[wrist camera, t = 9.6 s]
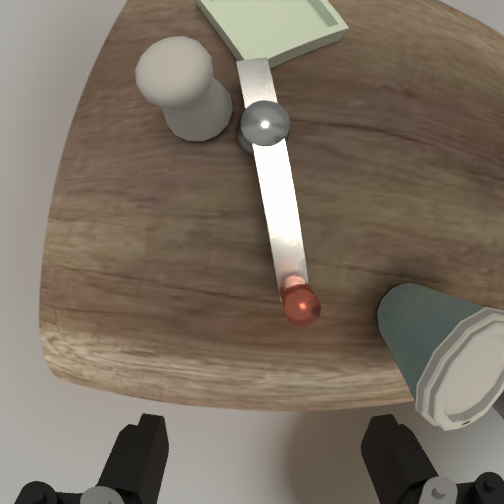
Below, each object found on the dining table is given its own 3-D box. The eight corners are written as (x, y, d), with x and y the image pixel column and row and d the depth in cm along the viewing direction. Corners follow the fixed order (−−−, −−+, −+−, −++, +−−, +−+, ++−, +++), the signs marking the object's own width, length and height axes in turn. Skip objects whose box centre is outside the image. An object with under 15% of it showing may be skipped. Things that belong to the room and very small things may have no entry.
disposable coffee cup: (365, 264, 29) (451, 331, 14) (447, 260, 29) (542, 308, 15) (354, 356, 31) (408, 450, 17) (431, 343, 32) (501, 414, 17)
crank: (230, 74, 23) (225, 40, 16) (271, 68, 23) (280, 33, 16) (271, 295, 27) (279, 331, 20) (310, 287, 27) (330, 320, 20)
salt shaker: (160, 128, 26) (98, 92, 13) (190, 77, 25) (154, 9, 12) (214, 155, 27) (187, 133, 14) (245, 102, 25) (245, 42, 13)
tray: (285, -27, 22) (288, -42, 19) (340, 40, 24) (349, 27, 21) (198, 6, 23) (193, -8, 20) (249, 78, 25) (250, 67, 22)
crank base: (270, 103, 26) (272, 97, 24) (294, 143, 26) (298, 140, 24) (228, 125, 26) (226, 121, 24) (252, 166, 27) (253, 165, 25)
